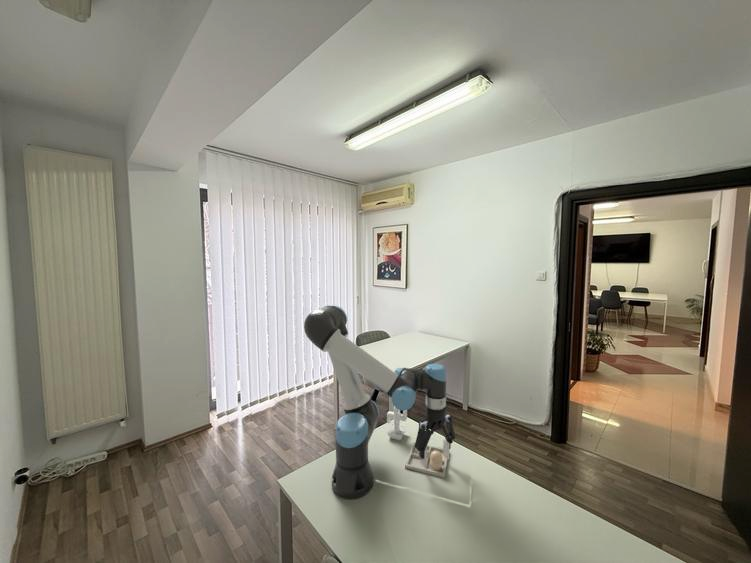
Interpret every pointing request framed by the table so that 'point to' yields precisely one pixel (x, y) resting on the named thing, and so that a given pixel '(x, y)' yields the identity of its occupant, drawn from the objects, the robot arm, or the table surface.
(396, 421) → the figurine
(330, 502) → the table surface
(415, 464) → the divided tray
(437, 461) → the egg
